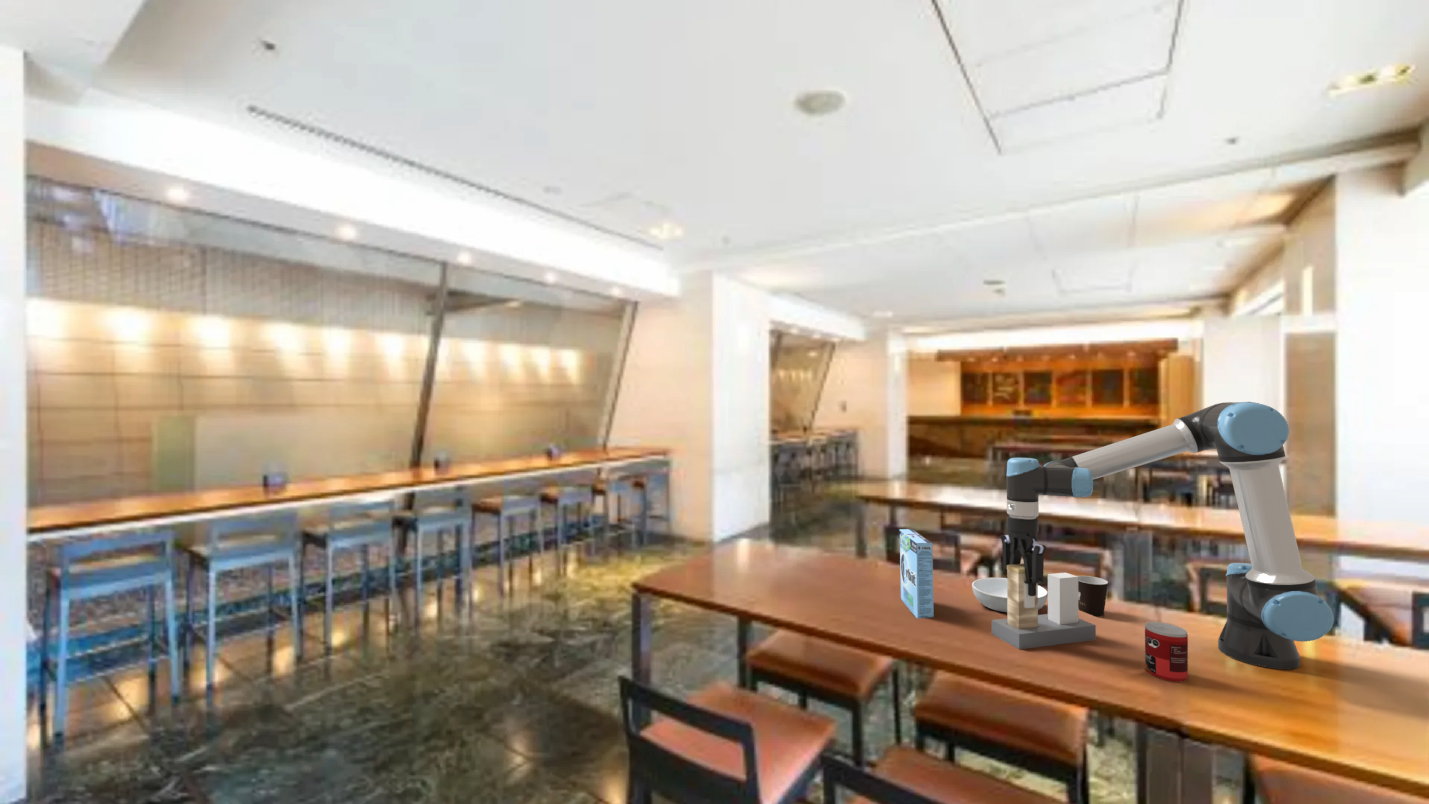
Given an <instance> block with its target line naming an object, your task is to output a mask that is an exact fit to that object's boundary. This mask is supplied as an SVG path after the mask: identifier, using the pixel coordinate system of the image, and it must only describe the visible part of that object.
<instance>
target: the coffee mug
mask: <svg viewBox="0 0 1429 804" xmlns="http://www.w3.org/2000/svg"><path fill="white" fill-rule="evenodd" d="M1076 576H1077V577H1078V611H1081V612H1083V613H1085V614H1088V615H1090V616H1092V617H1096V618H1097V617H1098V618H1100V617H1104V615H1105V609H1106V601H1107V594H1108V587H1109V581H1108V580H1106V579H1105V578H1101V577H1097V576H1089V575H1076Z"/></svg>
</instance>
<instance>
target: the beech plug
mask: <svg viewBox="0 0 1429 804" xmlns="http://www.w3.org/2000/svg"><path fill="white" fill-rule="evenodd" d="M1006 578H1007V613H1006V614H1007V615H1006V616H1007V624H1009V625H1011V626H1013V627H1015V628H1017V629H1026V628H1035V627H1038V615H1039V612H1038V611H1039V610H1038V585H1039V583H1037V584H1036V596H1035V607H1033V608H1024V581H1026V575H1025V568H1024V563H1020V564H1013V565H1007V572H1006ZM1031 579H1032V578H1031Z"/></svg>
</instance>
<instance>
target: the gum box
mask: <svg viewBox="0 0 1429 804" xmlns="http://www.w3.org/2000/svg"><path fill="white" fill-rule="evenodd" d="M933 551H934V550H933V542H931V541H929V540H928V539H927V538H926V537H924V536H923V535H921V534H920V533H919V532H917V531H916V530H915V529H912V528H909V529H908V528H906V529H905V528H903V529H901V528H900V529H899V553H900V554H899V559H900V560H899V563H900V565H899V566H900V570H899V571H900V575H899V577H900V599H901V601H902V602H903V603H904V605H905V606H906V608H908V610H909V611H910V612H911V614H913V616H914V617H915V618H916V619H918V620H919V619H930V618H934V616H935V615H934V614H935V613H934V611H935V610H934V609H935V608H934V562H933V561H934V559H933V558H934V555H933Z"/></svg>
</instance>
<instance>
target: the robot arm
mask: <svg viewBox="0 0 1429 804" xmlns="http://www.w3.org/2000/svg"><path fill="white" fill-rule="evenodd" d="M1289 434H1290V427H1289V424H1288V422H1287V420H1286V418H1285V416H1283V414H1282V413H1280V412H1279V411H1278V410H1277V409H1275V408H1273V407H1271V406H1270V405H1267V404H1263V403H1259V402H1254V401H1239V402H1233V401H1232V402H1230V401H1229V402H1220V403H1215V404H1213V405H1210V406H1206V407H1204V408H1202V409H1200V410H1197V411H1195V412H1192V413H1190V414H1187V415H1183V416H1181V417H1178V418H1175V419H1174V421H1173V423H1172V424H1170V425H1167V426H1166V425H1165V426H1164V427H1160V428H1157V429H1154V430H1151V431H1148V432H1145V433H1142V434H1139V435H1136V436H1132V437H1130V438H1126V439H1122V440H1120V441H1116V442H1114V443H1111V444H1107V445H1105V446H1101V447H1098V448H1095V449H1092V450H1088V451H1086V452H1082V453H1080V454H1076V455H1073V456H1071V457H1068V458H1065V459H1064V458H1063V459H1062V460H1052V461H1050V462H1047V463H1045V464H1044V465H1043V466H1042V465H1040V463H1039V460H1038V459H1036V458H1031V457H1011V458H1009V459H1008V460H1007V464H1006V513H1007V514H1008V515H1007V516H1006V529H1007V530H1008V531H1009V532H1008V534H1004V535H1002V534H1001V535H1000V540H1001V544H1002V570H1003V573H1007V565H1013V564H1022V563H1021V562H1023V564H1024V568H1025V575H1026V581H1024V608H1033V607H1035V596H1036V584H1037V583H1038V584H1041V583H1043V582H1044V567H1045V566H1044V565H1045V563H1044V561H1045V552H1046V550H1047V547H1046V545H1045V544H1044V545H1043V544H1042V545H1041V544H1040V543H1039V542H1038V539H1037V533H1038V532H1039V531H1040V530H1039V527H1040V525H1039V521H1040V520H1039V518H1038V517H1039V514H1040V512H1039V511H1040V510H1039V507H1040V506H1039V504H1040V503H1039V496H1054V497H1055V496H1056V497H1069V498H1071V497H1073V498H1075V499H1076V498H1088V497H1091V496H1092V494H1093V490H1094V489H1093V488H1094V480H1096V479H1100V478H1103V477H1106V476H1110V475H1113V474H1116V473H1117V474H1118V473H1120V472H1123V471H1126V470H1129V469H1133V468H1135V467H1136V468H1137V467H1139V466H1140V467H1141V466H1143V465H1147V464H1149V463H1152V462H1156V461H1160V460H1162V459H1166V458H1170V457H1172V456H1176V455H1179V454H1182V453H1183V454H1184V453H1186V452H1189V453H1192V454H1197V453H1201V452H1203V451H1204V452H1205V451H1208V450H1216V453H1217V457H1218V461H1219V463H1220V464H1222V465H1223V466H1225V467H1227V468H1228V469H1229V472H1230V473H1229V474H1230V477H1231V483H1232V485H1233V490H1234V495H1235V499H1236V503H1237V507H1238V511H1239V515H1240V521H1241V525H1242V529H1243V533H1244V539H1245V543H1246V546H1247V550H1248V555H1249V559H1250V563H1248V562H1232V563H1231V562H1230V563H1229V564H1228V565H1227V568H1226V574H1225V577H1226V621H1225V622H1224V623H1225V624H1224V625H1223V628H1222V629H1221V632H1220V634H1219V637H1218V639H1217V644H1218V645H1217V647H1218V650H1219V652H1221V653H1222V654H1223V655H1226V656H1227V657H1230V658H1232V659H1235V660H1237V661H1240V662H1243V663H1247V664H1249V665H1254V666H1258V667H1262V668H1263V667H1264V668H1267V669H1277V670H1295V669H1298V668H1300V667H1301V656H1300V653H1299V651H1298V648H1297V646H1296V643H1295V642H1303V643H1304V642H1311V641H1316V640H1319V639H1320V638H1322V637H1324V636H1325V635H1326V634H1328V633H1329V632H1330V631H1331V629H1332V627H1333V625H1334V620H1335V617H1334V613H1333V609H1332V608H1331V607H1330V605H1329V604H1328V602H1327V601H1326V600H1325V599H1323V598H1322V597H1321V596H1319V592H1318V587H1317V582H1316V580H1315V576H1314V574H1311V573H1310V572H1309V571H1307V570H1306V569H1304V567H1303V564H1302V559H1301V555H1300V551H1299V546H1298V542H1297V538H1296V534H1295V530H1294V525H1293V520H1292V517H1291V513H1290V508H1289V505H1288V499H1287V496H1286V491H1285V487H1284V482H1283V479H1282V475H1281V471H1280V467H1279V466H1280V464H1281V463H1282V462H1283V461H1284V459H1286V452H1285V447H1284V445H1285V443H1286V442H1287V440H1288V438H1289ZM1022 560H1023V561H1022ZM1031 578H1032V579H1031Z"/></svg>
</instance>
